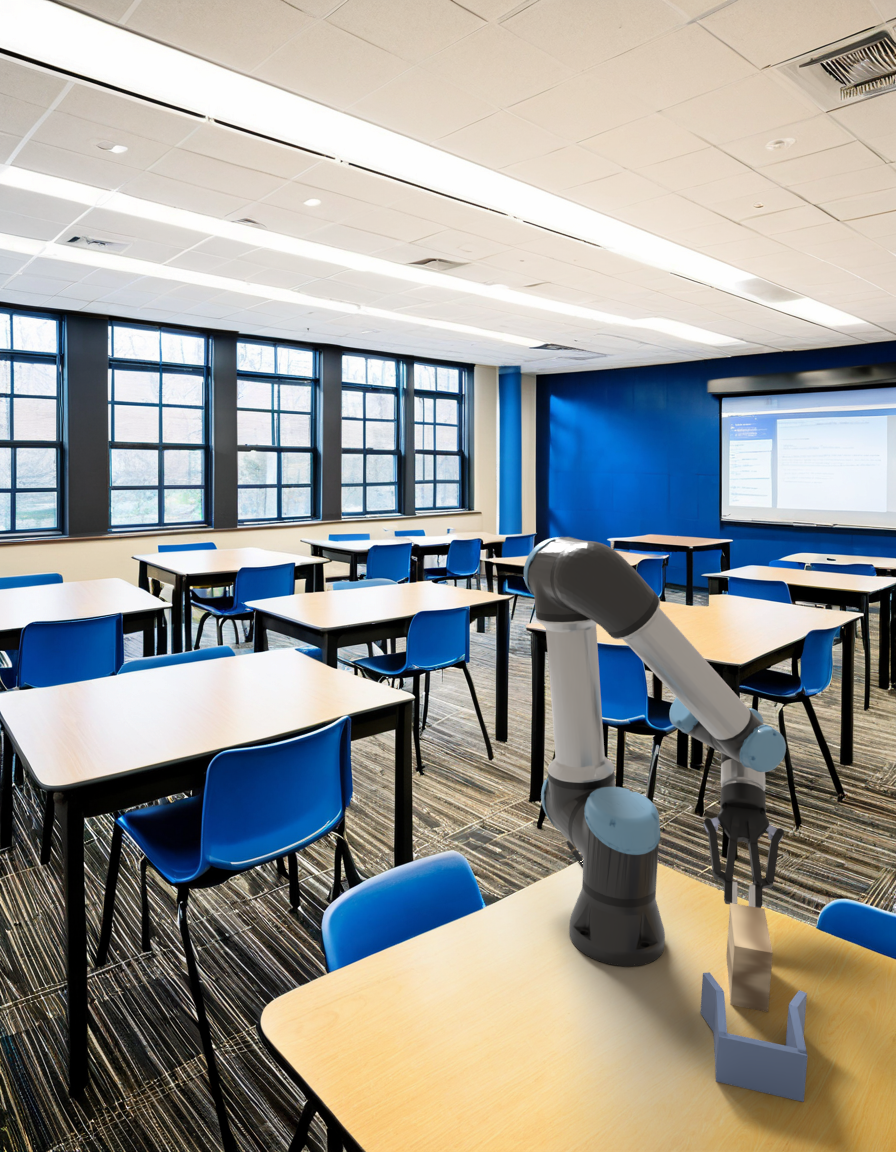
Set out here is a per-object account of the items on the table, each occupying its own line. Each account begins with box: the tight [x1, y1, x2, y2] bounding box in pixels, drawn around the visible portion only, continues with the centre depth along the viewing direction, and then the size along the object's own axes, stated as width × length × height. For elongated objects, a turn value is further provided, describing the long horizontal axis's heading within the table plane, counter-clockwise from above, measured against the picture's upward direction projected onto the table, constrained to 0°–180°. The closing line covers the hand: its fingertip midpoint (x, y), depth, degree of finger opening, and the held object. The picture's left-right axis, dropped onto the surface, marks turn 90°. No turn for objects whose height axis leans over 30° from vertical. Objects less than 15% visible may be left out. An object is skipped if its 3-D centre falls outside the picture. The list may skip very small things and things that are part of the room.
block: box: [725, 903, 774, 1013], centre depth 114 cm, size 5×12×9 cm, turn 163°
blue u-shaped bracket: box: [699, 971, 808, 1103], centre depth 99 cm, size 13×13×6 cm
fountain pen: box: [566, 839, 583, 867], centre depth 152 cm, size 14×1×2 cm, turn 9°
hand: (743, 926), depth 124 cm, fingers open, 2 cm apart
